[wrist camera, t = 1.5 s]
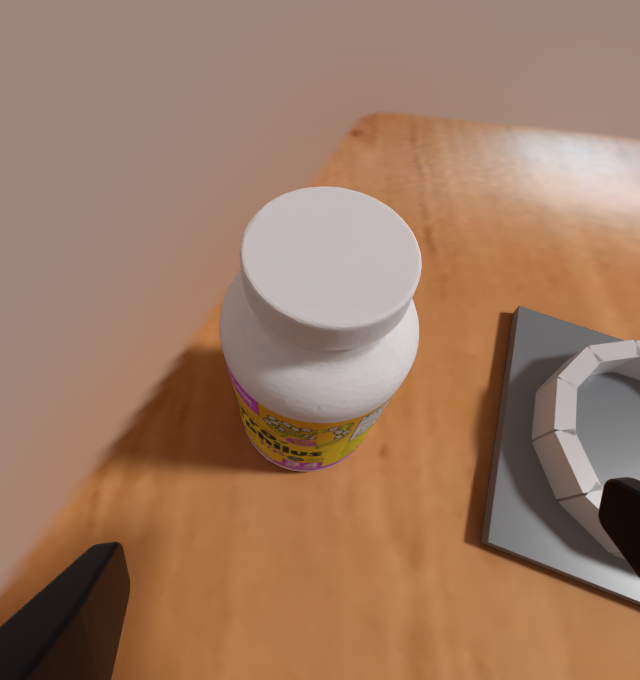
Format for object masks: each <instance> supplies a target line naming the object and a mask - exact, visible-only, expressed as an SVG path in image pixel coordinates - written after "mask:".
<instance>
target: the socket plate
mask: <svg viewBox="0 0 640 680" xmlns="http://www.w3.org/2000/svg"><path fill="white" fill-rule="evenodd" d="M621 477H631V478H635V479H637V480H640V341H638V340H635V341H634V340H628V341H624V340H621V339H618V338H615V337H612V336H609V335H606V334H603V333H600V332H597V331H594V330H591V329H588V328H585V327H582V326H579V325H576V324H573V323H570V322H567V321H564V320H560V319H557V318H554V317H551V316H548V315H545V314H542V313H539V312H536V311H533V310H530V309H527V308H524V307H521V306H519V307H518V308H517V309H516V310H515V311H514V312H513V316H512V323H511V330H510V337H509V344H508V351H507V359H506V366H505V373H504V380H503V387H502V394H501V401H500V408H499V415H498V423H497V430H496V437H495V444H494V451H493V458H492V465H491V472H490V479H489V487H488V494H487V501H486V508H485V515H484V522H483V529H482V536H481V543H483V544H485V545H488V546H490V547H493V548H495V549H498V550H501V551H503V552H506V553H508V554H511V555H513V556H516V557H518V558H521V559H523V560H526V561H528V562H531V563H533V564H536V565H538V566H541V567H544V568H546V569H549V570H551V571H554V572H556V573H559V574H561V575H564V576H566V577H569V578H571V579H574V580H576V581H579V582H581V583H584V584H587V585H589V586H592V587H594V588H597V589H599V590H602V591H604V592H607V593H609V594H612V595H614V596H617V597H619V598H622V599H625V600H627V601H630V602H632V603H635V604H637V605H640V578H639V577H638V575H637V574H636V573H635V571H634V570H633V569H632V567H631V566H630V565H629V563H628V562H627V560H626V559H625V558H624V556H623V555H622V554H621V552H620V551H619V550H618V548H617V547H616V546H615V544H614V543H613V541H612V540H611V539H610V537H609V536H608V535H607V533H606V532H605V531H604V529H603V528H602V526H601V524H600V521H599V518H598V511H599V506H600V502H601V497H602V492H603V487H604V484H605V482H606V481H607V480H609V479H613V478H621Z"/></svg>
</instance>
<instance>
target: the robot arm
mask: <svg viewBox="0 0 640 680" xmlns="http://www.w3.org/2000/svg"><path fill="white" fill-rule="evenodd" d="M598 518H599V521H600V524H601V526H602V528H603V529H604V531H605V532H606V533H607V535H608V536H609V537H610V539H611V540H612V541H613V543H614V544H615V546H616V547H617V548H618V550H619V551H620V552H621V554H622V555H623V556H624V558H625V559H626V560H627V562H628V563H629V565H630V566H631V567H632V569H633V570H634V571H635V573H636V574H637V575H638V577H639V578H640V480H637V479H635V478H631V477H621V478H613V479H609V480H607V481H606V482H605V484H604V487H603V492H602V497H601V502H600V506H599V511H598ZM129 593H130V578H129V574H128V569H127V564H126V560H125V555H124V550H123V547H122V545H121V544H120V543H118V542H111V543H103V544H97V545H94V546H92V547H91V548H89V549H88V550H87V551H86V552H85V553H83V554H82V555H81V556H80V557H79V558H78V559H77V560H76V561H74V562H73V563H72V564H71V565H70V566H69V567H68V568H66V569H65V570H64V571H63V572H62V573H61V574H60V575H58V576H57V577H56V578H55V579H54V580H53V581H52V582H51V583H49V584H48V585H47V586H46V587H45V588H44V589H43V590H41V591H40V592H39V593H38V594H37V595H36V596H35V597H33V598H32V599H31V600H30V601H29V602H28V603H27V604H26V605H24V606H23V607H22V608H21V609H20V610H19V611H18V612H16V613H15V614H14V615H13V616H12V617H11V618H10V619H9V620H7V621H6V622H5V623H4V624H3V625H2V626H1V627H0V680H111V678H112V673H113V669H114V664H115V659H116V655H117V650H118V645H119V641H120V636H121V631H122V627H123V622H124V617H125V613H126V608H127V604H128V599H129Z"/></svg>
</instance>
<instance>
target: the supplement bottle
mask: <svg viewBox="0 0 640 680" xmlns="http://www.w3.org/2000/svg"><path fill="white" fill-rule="evenodd" d="M240 263H241V271H240V272H239V273H238V275H237V276H236V277H235V279H234V280H233V282H232V283H231V285H230V287H229V289H228V291H227V293H226V295H225V298H224V301H223V304H222V308H221V313H220V326H219V331H220V340H221V345H222V350H223V353H224V357H225V360H226V364H227V367H228V371H229V374H230V378H231V382H232V385H233V389H234V393H235V396H236V400H237V404H238V407H239V411H240V414H241V418H242V422H243V425H244V428H245V431H246V433H247V435H248V437H249V439H250V441H251V443H252V444H253V446H254V447H255V448H256V449H257V450H258V452H259V453H260V454H261V455H263V456H264V457H265V458H266V459H267V460H269V461H271V462H272V463H274V464H276V465H278V466H280V467H282V468H285V469H288V470H292V471H299V472H313V471H319V470H324V469H327V468H330V467H332V466H334V465H336V464H338V463H340V462H341V461H343V460H344V459H346V458H347V457H348V456H349V455H350V454H351V453H352V452H353V451H354V450H355V449H356V448H357V447H358V446H359V444H360V443H361V442H362V440H363V439H364V437H365V436H366V435H367V433H368V432H369V430H370V429H371V428H372V426H373V425H374V423H375V422H376V420H377V419H378V417H379V416H380V414H381V413H382V411H383V410H384V408H385V407H386V405H387V404H388V402H389V401H390V400H391V398H392V397H393V395H394V394H395V392H396V391H397V390H398V388H399V387H400V385H401V384H402V382H403V380H404V379H405V377H406V376H407V374H408V372H409V370H410V369H411V366H412V364H413V362H414V359H415V356H416V353H417V349H418V341H419V323H418V316H417V312H416V308H415V305H414V302H413V299H412V297H413V295H414V293H415V290H416V288H417V285H418V283H419V278H420V274H421V254H420V250H419V246H418V243H417V240H416V238H415V236H414V234H413V232H412V231H411V229H410V228H409V226H408V225H407V224H406V223H405V221H404V220H403V219H402V218H401V217H400V216H399V215H398V214H397V213H396V212H394V211H393V210H392V209H391V208H389V207H388V206H387V205H385V204H384V203H382V202H380V201H379V200H377V199H375V198H373V197H370V196H368V195H366V194H363V193H360V192H357V191H353V190H349V189H345V188H338V187H309V188H302V189H299V190H295V191H291V192H289V193H286V194H283V195H281V196H279V197H277V198H275V199H274V200H272V201H270V202H269V203H267V204H266V205H265V206H264V207H263V208H261V209H260V210H259V211H258V212H257V213H256V214H255V216H253V218H252V219H251V221H250V223H249V224H248V226H247V227H246V229H245V232H244V235H243V238H242V241H241V246H240Z"/></svg>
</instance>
